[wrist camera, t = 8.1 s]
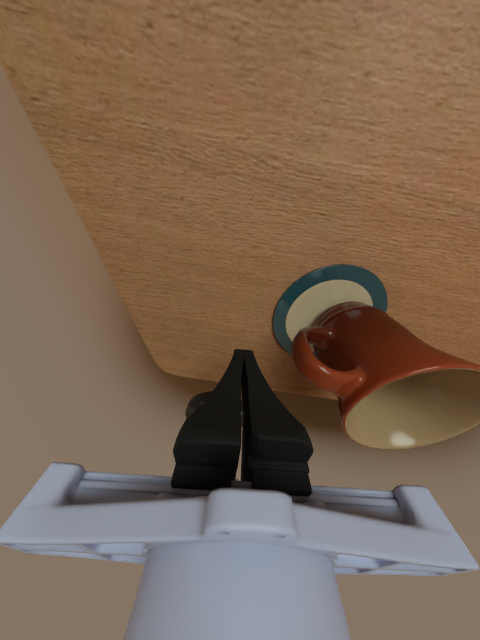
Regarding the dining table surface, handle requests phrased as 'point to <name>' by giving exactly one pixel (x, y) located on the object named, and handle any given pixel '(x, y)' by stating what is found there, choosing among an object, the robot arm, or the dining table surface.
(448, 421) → the mug
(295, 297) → the plate
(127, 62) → the dining table surface
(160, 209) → the dining table surface
